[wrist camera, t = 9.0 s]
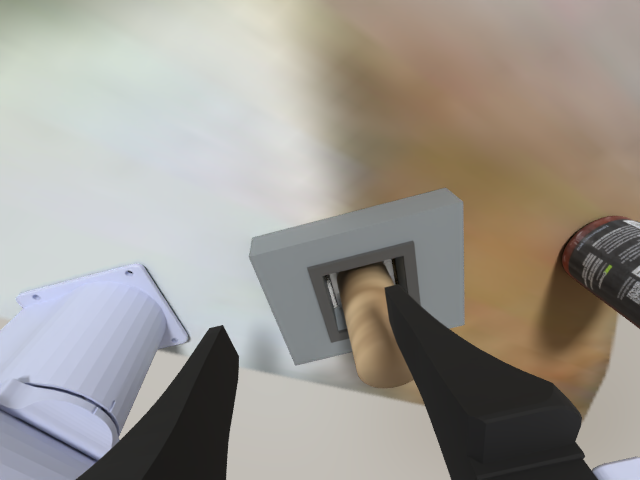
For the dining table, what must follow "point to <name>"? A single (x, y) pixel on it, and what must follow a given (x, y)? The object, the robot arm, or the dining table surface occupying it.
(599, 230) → the supplement bottle
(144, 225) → the dining table surface
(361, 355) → the peg
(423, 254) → the board
